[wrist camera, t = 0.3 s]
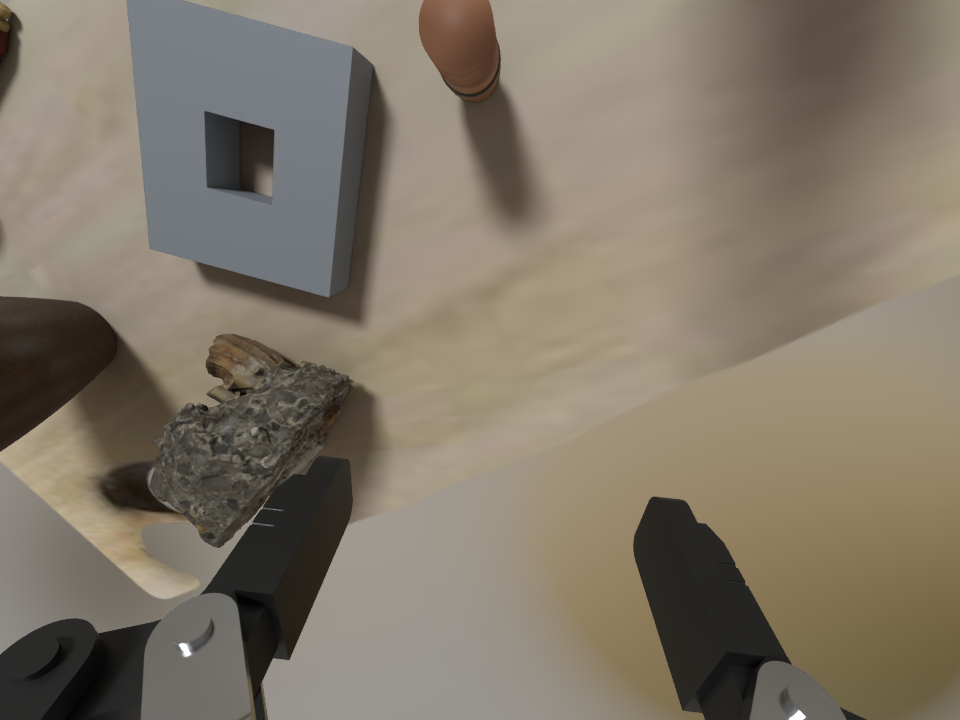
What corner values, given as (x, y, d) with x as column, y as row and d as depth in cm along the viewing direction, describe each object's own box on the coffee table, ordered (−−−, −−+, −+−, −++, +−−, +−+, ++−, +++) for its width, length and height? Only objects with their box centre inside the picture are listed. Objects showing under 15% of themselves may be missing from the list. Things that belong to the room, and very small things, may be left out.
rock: (250, 596, 30) (30, 503, 24) (251, 532, 43) (105, 462, 37) (391, 398, 36) (240, 288, 31) (355, 393, 49) (244, 315, 43)
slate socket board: (173, 10, 30) (125, -16, 27) (373, 65, 30) (352, 47, 27) (186, 243, 37) (149, 248, 34) (348, 287, 38) (329, 297, 34)
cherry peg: (455, 37, 29) (425, -36, 20) (509, 52, 29) (503, -14, 20) (444, 101, 31) (411, 61, 22) (495, 115, 31) (483, 81, 22)
